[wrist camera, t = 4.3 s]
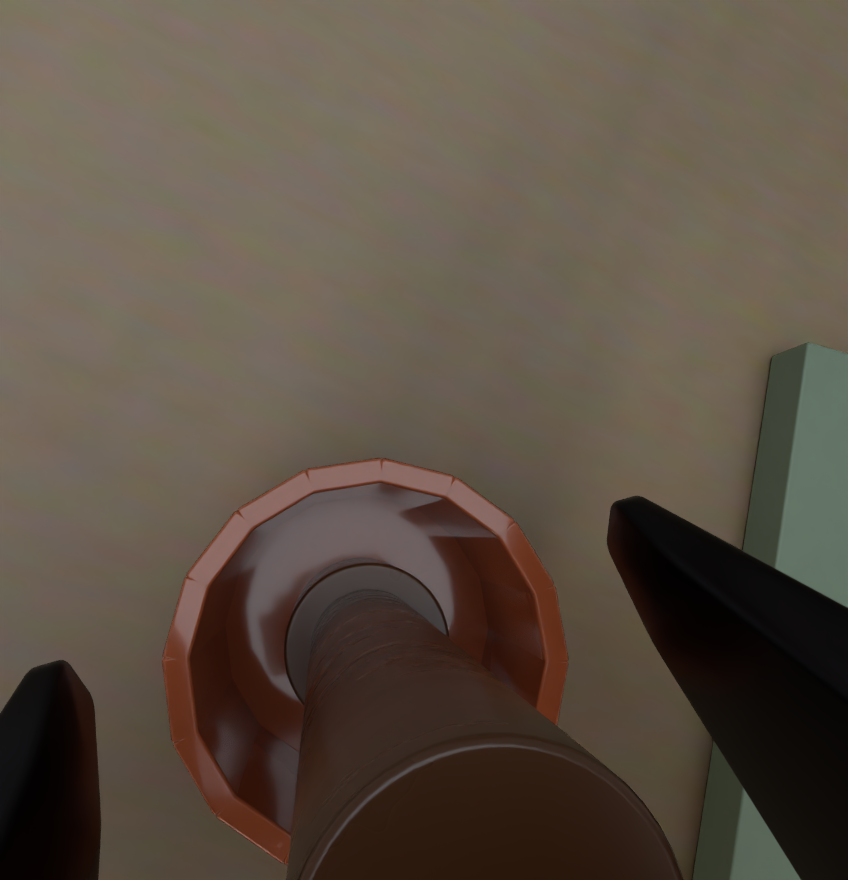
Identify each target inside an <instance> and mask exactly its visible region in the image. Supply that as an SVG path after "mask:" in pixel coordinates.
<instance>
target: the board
mask: <svg viewBox="0 0 848 880" xmlns="http://www.w3.org/2000/svg"><path fill="white" fill-rule="evenodd" d="M743 551H744V552H746V553H748V554H749V555H751V556H753V557H755V558H757V559H759V560H760V561H762V562H764V563H766V564H768V565H770V566H772V567H773V568H775V569H777V570H779V571H781V572H783V573H785V574H786V575H788V576H790V577H792V578H794V579H796V580H798V581H799V582H801V583H803V584H805V585H807V586H809V587H811V588H812V589H814V590H816V591H818V592H820V593H822V594H824V595H825V596H827V597H829V598H831V599H833V600H835V601H836V602H838V603H840V604H842V605H844V606H846V607H848V353H844V352H841V351H837V350H834V349H830V348H827V347H823V346H820V345H816V344H813V343H809V342H808V343H805V344H802V345H800V346H797V347H795V348H792V349H790V350H787V351H785V352H782V353H780V354H777V355H774V356H773V357H772V362H771V368H770V375H769V381H768V388H767V394H766V401H765V407H764V414H763V420H762V427H761V434H760V440H759V447H758V453H757V460H756V466H755V473H754V479H753V486H752V493H751V499H750V506H749V512H748V519H747V525H746V532H745V538H744V545H743ZM692 880H801V879H800V878H799V876H798V874H797V873H796V871H795V870H794V868H793V866H792V865H791V863H790V862H789V860H788V858H787V857H786V855H785V854H784V852H783V850H782V849H781V847H780V846H779V844H778V842H777V841H776V839H775V838H774V836H773V834H772V833H771V831H770V830H769V828H768V826H767V825H766V823H765V822H764V820H763V818H762V817H761V815H760V814H759V812H758V810H757V809H756V807H755V806H754V804H753V802H752V801H751V799H750V798H749V796H748V794H747V793H746V791H745V790H744V788H743V786H742V785H741V783H740V782H739V780H738V778H737V777H736V775H735V774H734V772H733V771H732V769H731V767H730V766H729V764H728V763H727V761H726V759H725V758H724V756H723V755H722V753H721V751H720V750H719V748H718V747H717V745H716V743H715V742H713V748H712V755H711V761H710V768H709V774H708V781H707V787H706V794H705V801H704V807H703V814H702V820H701V827H700V833H699V840H698V846H697V853H696V860H695V866H694V873H693V879H692Z"/></svg>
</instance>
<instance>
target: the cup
mask: <svg viewBox="0 0 848 880" xmlns="http://www.w3.org/2000/svg"><path fill="white" fill-rule="evenodd" d="M351 558H371V559H377V560H380V561H384V562H386V563H389V564H391V565H393V566H395V567H397V568H400V569H402V570H404V571H406V572H408V573H410V574H411V575H413V576H414V577H416V578H417V579H418V580H420V581H421V582H422V583H423V584H424V585H425V586H426V587H427V588H428V589H429V590H430V591H431V592H432V594H433V595H434V596H435V598H436V599H437V601H438V603H439V605H440V606H441V608H442V610H443V613H444V616H445V618H446V622H447V626H448V630H449V638H450V639H451V640H452V641H453V642H455V643H456V644H457V645H458V646H460V647H461V648H462V649H463V650H464V651H466V652H467V653H468V654H469V655H471V656H472V657H473V658H474V659H475V660H477V661H478V662H479V663H480V664H482V665H483V666H484V667H485V668H486V669H488V670H489V671H490V672H491V673H493V674H494V675H495V676H496V677H497V678H499V679H500V680H501V681H502V682H504V683H505V684H506V685H507V686H508V687H510V688H511V689H512V690H513V691H514V692H516V693H517V694H518V695H519V696H521V697H522V698H523V699H524V700H525V701H527V702H528V703H529V704H530V705H532V706H533V707H534V708H535V709H536V710H538V711H539V712H540V713H541V714H543V715H544V716H545V717H546V718H547V719H549V720H550V721H551V722H552V723H554V724H555V725H556V726H557V722H558V717H559V712H560V706H561V701H562V696H563V690H564V685H565V680H566V675H567V669H568V662H567V661H568V653H567V647H566V642H565V636H564V631H563V625H562V620H561V614H560V609H559V603H558V598H557V592H556V587H555V586H553V585H554V582H553V581H552V579H551V577H550V576H549V574H548V572H547V571H546V569H545V568H544V566H543V564H542V563H541V561H540V559H539V558H538V556H537V555H536V553H535V551H534V550H533V548H532V546H531V545H530V543H529V542H528V540H527V538H526V537H525V535H524V533H523V532H522V530H521V529H520V527H519V525H518V524H517V522H515V521H514V519H513V518H512V517H510V516H509V515H508V514H506V513H505V512H504V511H502V510H501V509H500V508H498V507H497V506H496V505H494V504H493V503H491V502H490V501H489V500H487V499H486V498H485V497H483V496H482V495H481V494H479V493H478V492H476V491H475V490H474V489H472V488H471V487H470V486H468V485H467V484H466V483H464V482H463V481H462V480H460V479H459V478H457V477H454V476H453V475H450V474H446V473H442V472H438V471H434V470H430V469H426V468H422V467H418V466H414V465H410V464H406V463H402V462H398V461H394V460H390V459H386V458H384V459H381V458H375V459H369V460H362V461H355V462H349V463H342V464H335V465H328V466H322V467H315V468H308V469H307V470H306V471H305V470H303V471H301V472H299V473H298V474H296V475H294V476H293V477H291V478H289V479H287V480H286V481H284V482H282V483H281V484H279V485H277V486H276V487H274V488H272V489H270V490H269V491H267V492H265V493H264V494H262V495H260V496H259V497H257V498H255V499H253V500H252V501H250V502H248V503H247V504H245V505H243V506H242V507H240V508H239V509H238V510H237V511H236V512H234V513H233V514H232V516H231V517H230V518H229V519H228V521H227V522H226V523H225V525H224V526H223V527H222V528H221V530H220V531H219V532H218V534H217V535H216V536H215V538H214V539H213V540H212V541H211V543H210V544H209V545H208V547H207V548H206V549H205V550H204V552H203V553H202V554H201V556H200V557H199V558H198V560H197V561H196V562H195V563H194V565H193V566H192V567H191V569H190V570H189V571H188V572H187V575H186V576H187V577H185V578H184V581H183V584H182V588H181V592H180V595H179V599H178V602H177V606H176V609H175V613H174V616H173V620H172V623H171V627H170V630H169V634H168V637H167V641H166V645H165V648H164V652H163V660H162V665H163V673H164V682H165V690H166V699H167V707H168V716H169V724H170V733H171V740H172V742H174V743H173V746H174V748H175V749H176V751H177V753H178V755H179V756H180V758H181V760H182V761H183V763H184V765H185V766H186V768H187V770H188V772H189V773H190V775H191V777H192V778H193V780H194V782H195V784H196V785H197V787H198V789H199V790H200V792H201V794H202V796H203V797H204V799H205V801H206V802H207V804H208V806H209V807H210V809H211V811H212V813H213V814H215V815H216V817H217V818H218V819H219V820H221V821H222V822H224V823H225V824H226V825H228V826H229V827H231V828H232V829H233V830H235V831H236V832H238V833H239V834H241V835H242V836H243V837H245V838H246V839H248V840H249V841H251V842H252V843H253V844H255V845H256V846H258V847H259V848H261V849H262V850H263V851H265V852H266V853H268V854H269V855H271V856H272V857H273V858H275V859H276V860H278V861H279V862H281V863H283V862H284V864H286V865H288V858H289V849H290V839H291V829H292V820H293V810H294V800H295V791H296V781H297V771H298V762H299V752H300V742H301V733H302V723H303V713H304V705H303V704H302V703H301V702H300V700H299V699H298V697H297V696H296V694H295V692H294V690H293V688H292V686H291V684H290V682H289V679H288V676H287V672H286V667H285V662H284V639H285V634H286V629H287V626H288V623H289V620H290V617H291V614H292V611H293V609H294V606H295V604H296V601H297V599H298V597H299V595H300V593H301V592H302V590H303V589H304V587H305V586H306V585H307V584H308V582H309V581H310V580H311V579H312V578H313V577H314V576H315V575H316V574H317V573H319V572H320V571H322V570H323V569H324V568H326V567H328V566H330V565H332V564H334V563H336V562H339V561H342V560H346V559H351Z"/></svg>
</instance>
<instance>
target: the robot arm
mask: <svg viewBox="0 0 848 880" xmlns="http://www.w3.org/2000/svg"><path fill="white" fill-rule="evenodd" d="M607 545H608V550H609V553H610V555H611V557H612V559H613V562H614V564H615V566H616V568H617V570H618V572H619V574H620V576H621V578H622V580H623V582H624V584H625V587H626V589H627V591H628V593H629V595H630V597H631V599H632V601H633V603H634V605H635V607H636V609H637V611H638V614H639V616H640V618H641V620H642V622H643V624H644V626H645V628H646V630H647V632H648V634H649V636H650V638H651V640H652V642H653V643H654V645H655V647H656V649H657V650H658V652H659V654H660V655H661V657H662V659H663V660H664V662H665V663H666V665H667V667H668V668H669V670H670V671H671V673H672V675H673V676H674V678H675V679H676V681H677V683H678V684H679V686H680V687H681V689H682V691H683V692H684V694H685V695H686V697H687V699H688V700H689V702H690V703H691V705H692V707H693V708H694V710H695V711H696V713H697V715H698V716H699V718H700V719H701V721H702V723H703V724H704V726H705V727H706V729H707V731H708V732H709V734H710V735H711V737H712V739H713V740H714V742H715V743H716V745H717V747H718V748H719V750H720V751H721V753H722V755H723V756H724V758H725V759H726V761H727V763H728V764H729V766H730V767H731V769H732V771H733V772H734V774H735V775H736V777H737V778H738V780H739V782H740V783H741V785H742V786H743V788H744V790H745V791H746V793H747V794H748V796H749V798H750V799H751V801H752V802H753V804H754V806H755V807H756V809H757V810H758V812H759V814H760V815H761V817H762V818H763V820H764V822H765V823H766V825H767V826H768V828H769V830H770V831H771V833H772V834H773V836H774V838H775V839H776V841H777V842H778V844H779V846H780V847H781V849H782V850H783V852H784V854H785V855H786V857H787V858H788V860H789V862H790V863H791V865H792V866H793V868H794V870H795V871H796V873H797V874H798V876H799V878H800V879H801V880H848V607H846V606H844V605H842V604H840V603H838V602H836V601H835V600H833V599H831V598H829V597H827V596H825V595H824V594H822V593H820V592H818V591H816V590H814V589H812V588H811V587H809V586H807V585H805V584H803V583H801V582H799V581H798V580H796V579H794V578H792V577H790V576H788V575H786V574H785V573H783V572H781V571H779V570H777V569H775V568H773V567H772V566H770V565H768V564H766V563H764V562H762V561H760V560H759V559H757V558H755V557H753V556H751V555H749V554H748V553H746V552H744V551H742V550H740V549H738V548H736V547H735V546H733V545H731V544H729V543H727V542H725V541H723V540H722V539H720V538H718V537H716V536H714V535H712V534H710V533H709V532H707V531H705V530H703V529H701V528H699V527H697V526H696V525H694V524H692V523H690V522H688V521H686V520H685V519H683V518H681V517H679V516H677V515H675V514H673V513H672V512H670V511H668V510H666V509H664V508H662V507H660V506H659V505H657V504H655V503H653V502H651V501H649V500H647V499H646V498H643V497H640V496H633V497H629V498H626V499H622V500H619V501H616V502H614V503H613V505H612V506H611V510H610V518H609V526H608V534H607ZM100 840H101V810H100V791H99V775H98V758H97V742H96V725H95V710H94V703H93V700H92V697H91V694H90V692H89V691H88V689H87V688H86V687H85V685H84V684H83V682H82V681H81V679H80V678H79V677H78V675H77V674H76V672H75V671H74V670H73V668H72V667H71V665H70V664H69V663H68V662H66V661H64V660H58V661H54V662H51V663H47V664H44V665H40V666H37V667H34V668H32V669H31V670H30V671H29V672H28V673H27V674H26V675H25V676H24V678H23V679H22V681H21V682H20V684H19V685H18V687H17V688H16V690H15V692H14V693H13V695H12V696H11V698H10V699H9V701H8V702H7V704H6V705H5V707H4V708H3V710H2V711H1V713H0V880H98V876H99V859H100Z"/></svg>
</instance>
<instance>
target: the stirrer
mask: <svg viewBox="0 0 848 880" xmlns="http://www.w3.org/2000/svg"><path fill="white" fill-rule="evenodd" d="M284 662H285V667H286V672H287V676H288V679H289V682H290V684H291V686H292V688H293V690H294V692H295V694H296V696H297V697H298V699H299V700H300V702H301V703H302V704H303V705H304V713H303V723H302V733H301V742H300V752H299V762H298V771H297V781H296V791H295V800H294V810H293V820H292V829H291V839H290V849H289V858H288V868H287V878H286V880H683V877H682V873H681V871H680V868H679V866H678V863H677V860H676V858H675V855H674V853H673V850H672V848H671V846H670V844H669V842H668V840H667V838H666V836H665V834H664V833H663V831H662V829H661V827H660V825H659V823H658V822H657V821H656V819H655V818H654V816H653V815H652V813H651V812H650V811H649V809H648V808H647V806H646V805H645V804H644V802H643V801H642V800H641V799H640V798H639V797H638V796H637V795H636V794H635V792H634V791H633V790H632V789H631V788H630V787H629V786H628V785H627V784H626V783H625V782H624V781H623V780H622V779H620V778H619V777H618V776H617V775H616V774H614V773H613V772H612V771H611V770H610V769H608V768H607V767H606V766H605V765H604V764H602V763H601V762H600V761H599V760H597V759H596V758H595V757H594V756H593V755H591V754H590V753H589V752H588V751H586V750H585V749H584V748H583V747H582V746H580V745H579V744H578V743H577V742H575V741H574V740H573V739H572V738H571V737H569V736H568V735H567V734H566V733H565V732H563V731H562V730H561V729H560V728H558V727H557V726H556V725H555V724H554V723H552V722H551V721H550V720H549V719H547V718H546V717H545V716H544V715H543V714H541V713H540V712H539V711H538V710H536V709H535V708H534V707H533V706H532V705H530V704H529V703H528V702H527V701H525V700H524V699H523V698H522V697H521V696H519V695H518V694H517V693H516V692H514V691H513V690H512V689H511V688H510V687H508V686H507V685H506V684H505V683H504V682H502V681H501V680H500V679H499V678H497V677H496V676H495V675H494V674H493V673H491V672H490V671H489V670H488V669H486V668H485V667H484V666H483V665H482V664H480V663H479V662H478V661H477V660H475V659H474V658H473V657H472V656H471V655H469V654H468V653H467V652H466V651H464V650H463V649H462V648H461V647H460V646H458V645H457V644H456V643H455V642H453V641H452V640H451V639H450V638H449V630H448V626H447V622H446V618H445V616H444V613H443V610H442V608H441V606H440V605H439V603H438V601H437V599H436V598H435V596H434V595H433V594H432V592H431V591H430V590H429V589H428V588H427V587H426V586H425V585H424V584H423V583H422V582H421V581H420V580H418V579H417V578H416V577H414V576H413V575H411V574H410V573H408V572H406V571H404V570H402V569H400V568H397V567H395V566H393V565H391V564H389V563H386V562H384V561H380V560H377V559H371V558H351V559H346V560H342V561H339V562H336V563H334V564H332V565H330V566H328V567H326V568H324V569H323V570H322V571H320V572H319V573H317V574H316V575H315V576H314V577H313V578H312V579H311V580H310V581H309V582H308V584H307V585H306V586H305V587H304V589H303V590H302V592H301V593H300V595H299V597H298V599H297V601H296V604H295V606H294V609H293V611H292V614H291V617H290V620H289V623H288V626H287V629H286V634H285V639H284Z"/></svg>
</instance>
